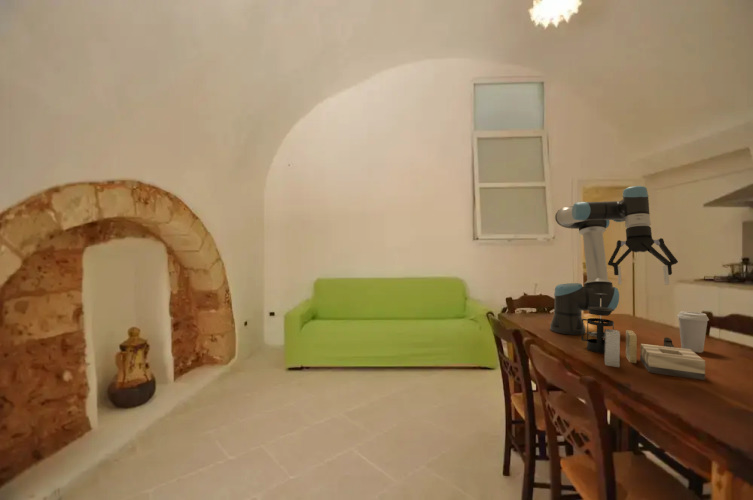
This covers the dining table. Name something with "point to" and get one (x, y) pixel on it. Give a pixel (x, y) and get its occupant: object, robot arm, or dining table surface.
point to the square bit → (612, 348)
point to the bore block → (672, 361)
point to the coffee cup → (692, 330)
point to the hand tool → (668, 342)
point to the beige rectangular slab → (631, 346)
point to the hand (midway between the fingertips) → (642, 284)
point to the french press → (598, 327)
